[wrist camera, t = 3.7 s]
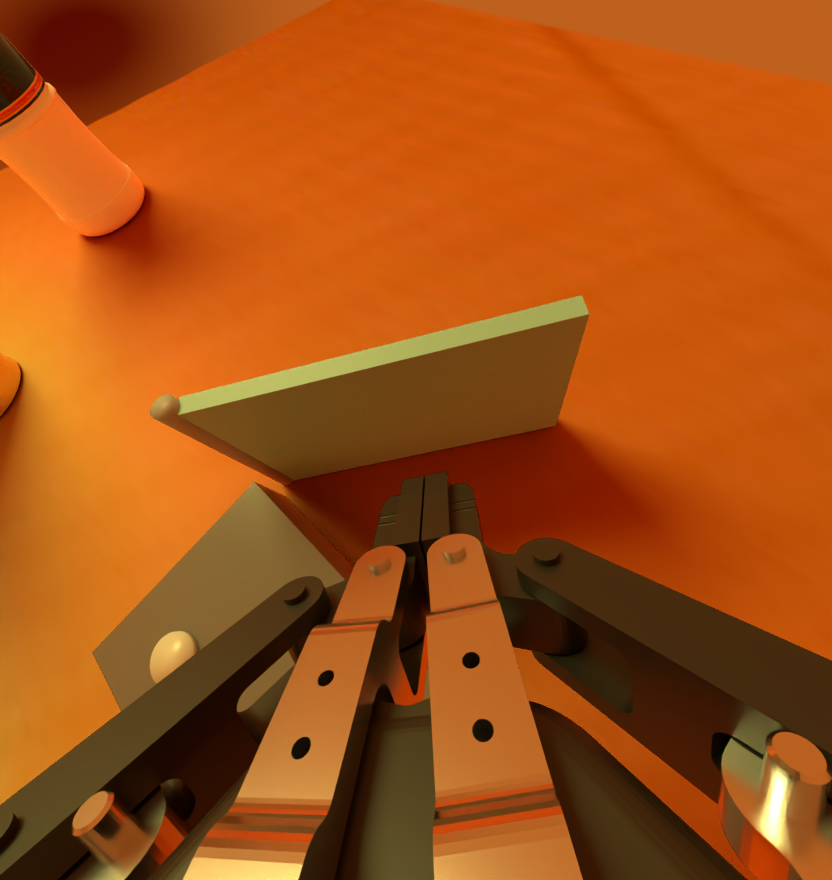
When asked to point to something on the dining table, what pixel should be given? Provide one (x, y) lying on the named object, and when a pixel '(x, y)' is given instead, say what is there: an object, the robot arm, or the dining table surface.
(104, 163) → the vodka
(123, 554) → the dining table surface
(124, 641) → the box with round knob
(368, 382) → the door
